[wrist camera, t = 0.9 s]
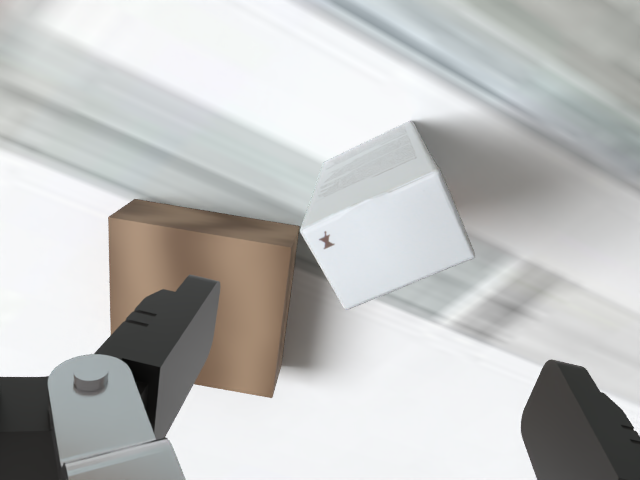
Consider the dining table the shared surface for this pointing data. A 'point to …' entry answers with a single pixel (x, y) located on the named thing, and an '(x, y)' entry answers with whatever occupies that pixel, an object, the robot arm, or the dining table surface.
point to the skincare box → (383, 218)
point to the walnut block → (217, 264)
